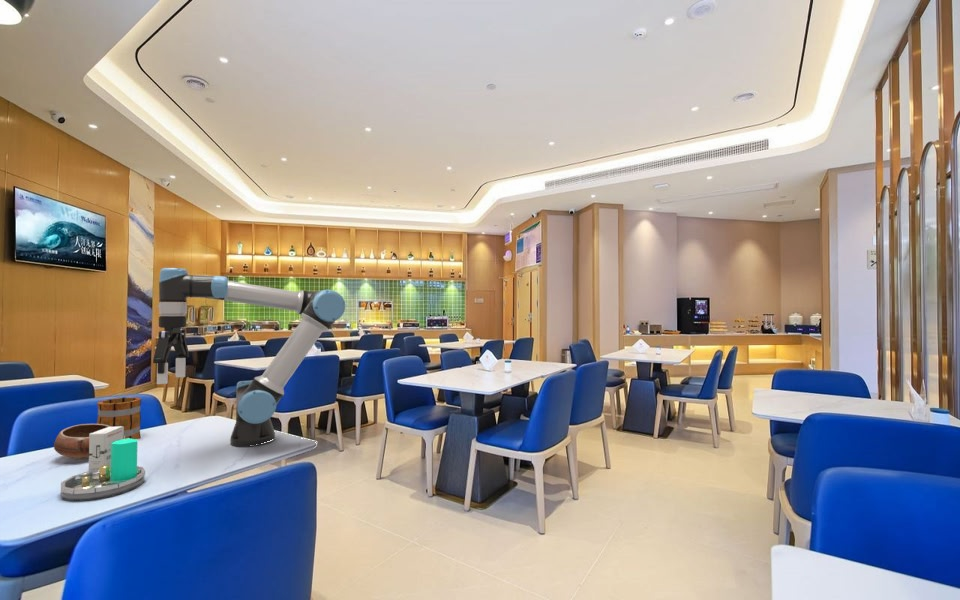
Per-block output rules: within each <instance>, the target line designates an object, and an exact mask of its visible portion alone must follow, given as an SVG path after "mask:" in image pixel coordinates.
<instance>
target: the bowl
mask: <svg viewBox="0 0 960 600" xmlns="http://www.w3.org/2000/svg"><path fill="white" fill-rule="evenodd" d="M107 427H111V426H108V425H104V424H97V423H81V424H76V425H72V426H69V427H66V428H64V429H62V430H61V431H60V432H59V433H58V435H57V436H56V438H55V440H54V443H53V449H54V451H55V452H56V453H57V454H59V455H61V456H62V457H64V458H65V457H66V458H69V459H75V460H84V459H89V434H90V433H93V432H96V431H99V430H102V429H104V428H107Z"/></svg>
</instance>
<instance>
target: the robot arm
mask: <svg viewBox="0 0 960 600" xmlns="http://www.w3.org/2000/svg"><path fill="white" fill-rule="evenodd" d="M158 290H159V292H158V299H159V300H158V303H159V304H158V305H157V308H158V314H159V317H158V328H161V329H164V330H159V331H158V337H157V343H156V347H155V351H154V355H153V359H152V361H153V364H156V385H167V384H168V382H169V380H168V379H169V378H168V377H169V374H168V372H169V363H168V362H167V361H168V358H169V356H170V353H171V350H172V348H173V349H174V351H175V354H176V358H175V378H185V377H186V358H189V357H190V351H189V348H188V342H187V338H186V329H185V328H186V327H187V316H186V315H187V314H188V312H187V311H188V306H187V305H188V304H187V299H188V298H200V299H201V298H203V299H211V300H218V301H219V300H220V301H227V302H232V303H237V304H238V303H239V304H245V305H252V306H253V305H254V306H260V307H266V308H273V309H281V310H287V311H293V312H296V314H297V315H301V318H302V319H301V321H300V322H299V323H298V325H297V326H296V328H294V330H293V332H292V333H291V334H290V336H289V338H288V339H286V341H285V343H284V344H283V346H281V348H280V350H278V352H277V354H276V355H275V357H274V358H273V359H272V361H271V362H270V363H269V365H268V366H267V368H265V370H264V372H263V373H262V375H259V376H255V377H253V379H251V380H240V381H238V382H237V383H236V388H235V391H236V392H235V393H236V400H235V401H236V402H235V406H236V407H235V424H234V427H233V430H232V432H231V435H230V441H229V442H230V446H232V447H233V446H234V447H239V446H248V447H251V446H250V445H256V444H261V443H264V442H267V441H270V440H272V439H274V438H275V439H276V432H274V431H275V429H274V426H273V422H272V420H271V418H272V416H273V415H274V414H275V412H276V409H277V405H278V403H279V402H280V401H281V399H282V398H283V396H284V395H285V390H284V387H286V385H287V383H288V381H289V380H290V378H292V376H293V375H294V374H295V372H296V371H297V369H298V367H299V366H300V365H301V364H302V362H303V361H304V359H305V358H306V356H307V355H308V353H309V352H310V350H312V347H313V346H314V345H315V343H316V342H317V340H318V339H319V338H320V336H322V333H324V332H328V331H330V329H331V328H332V326H333V325H334V324H335V323H336V321H338V320H339V319H340V318H342V316H343V315H344V313H345V310H346V301H345V298H343V296H342V295H341V294H340V293H339V292H338V291H335V290H332V289H323V290H317V291H313V290H303V289H302V290H300V291H293V290H287V289H282V288H277V287H276V288H275V287H269V286H264V285H259V284H258V285H256V284H250V283H245V282H240V281H232V280H229V278H228V277H227V276H221V275H201V274H200V275H199V274H198V275H194V274H188V270H187V269H185V268H177V267H163V268H161V269H160V271H159V281H158ZM275 439H274V440H275Z"/></svg>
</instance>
